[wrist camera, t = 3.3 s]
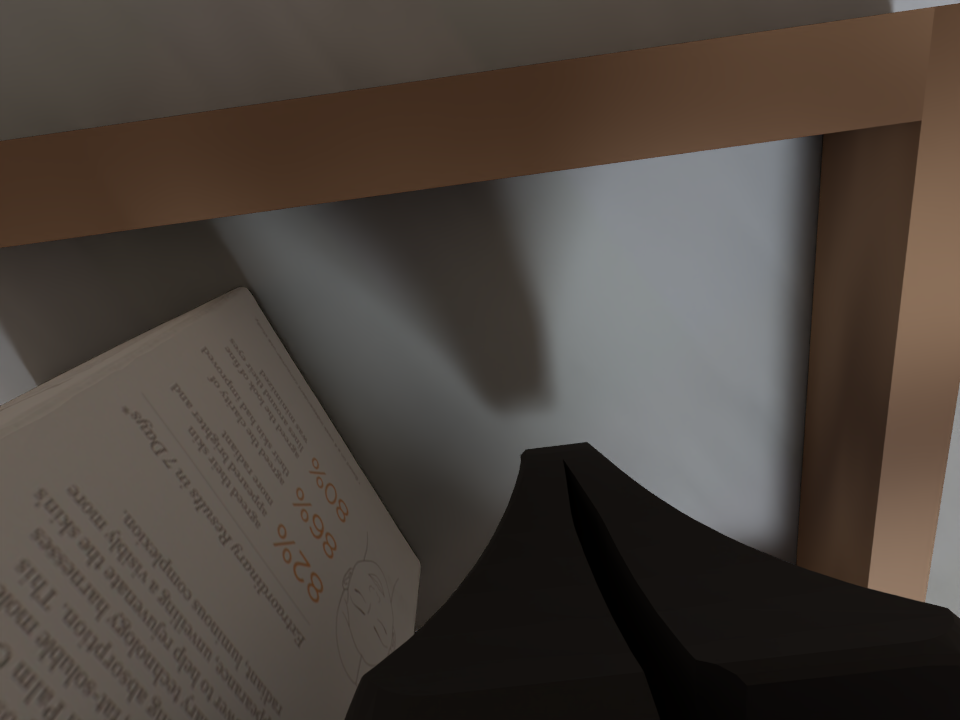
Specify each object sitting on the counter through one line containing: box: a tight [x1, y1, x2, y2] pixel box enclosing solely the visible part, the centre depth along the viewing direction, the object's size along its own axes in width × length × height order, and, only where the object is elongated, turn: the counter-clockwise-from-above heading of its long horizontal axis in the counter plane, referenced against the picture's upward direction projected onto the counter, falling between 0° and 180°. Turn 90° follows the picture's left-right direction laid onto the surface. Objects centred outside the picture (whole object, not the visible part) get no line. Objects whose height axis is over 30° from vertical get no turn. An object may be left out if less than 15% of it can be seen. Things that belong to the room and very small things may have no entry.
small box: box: [0, 287, 421, 720], centre depth 8 cm, size 8×6×10 cm
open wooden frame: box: [0, 3, 960, 602], centre depth 12 cm, size 15×21×2 cm
